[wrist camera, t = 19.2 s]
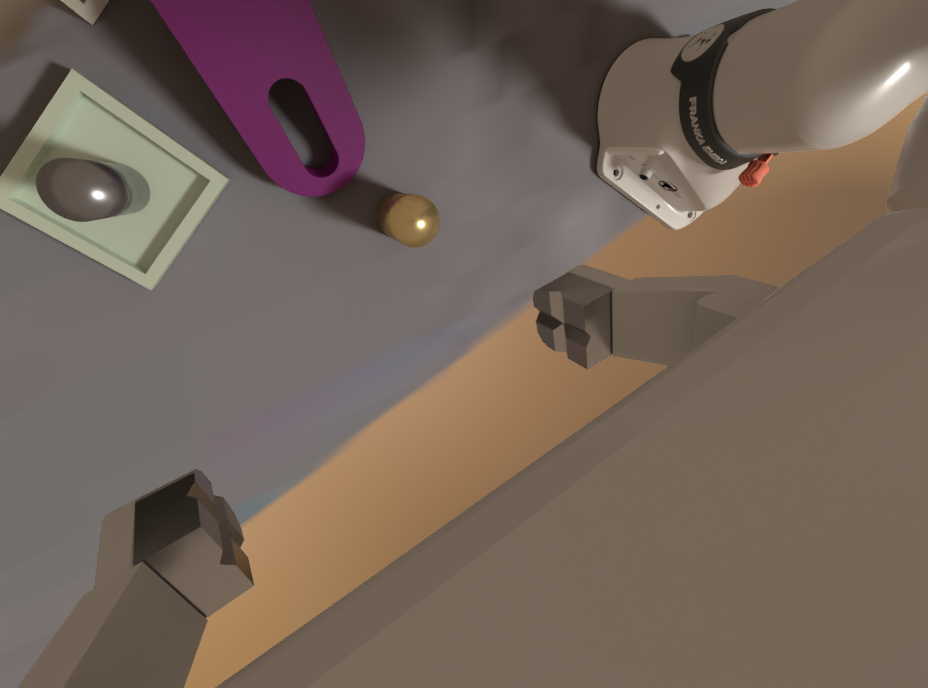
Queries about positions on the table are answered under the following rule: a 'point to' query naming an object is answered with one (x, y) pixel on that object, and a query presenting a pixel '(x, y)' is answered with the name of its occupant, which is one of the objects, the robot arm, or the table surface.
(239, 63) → the mounting bracket
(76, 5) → the label tile
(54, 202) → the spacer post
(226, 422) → the table surface
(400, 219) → the gold metallic cylinder
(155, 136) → the parts tray
